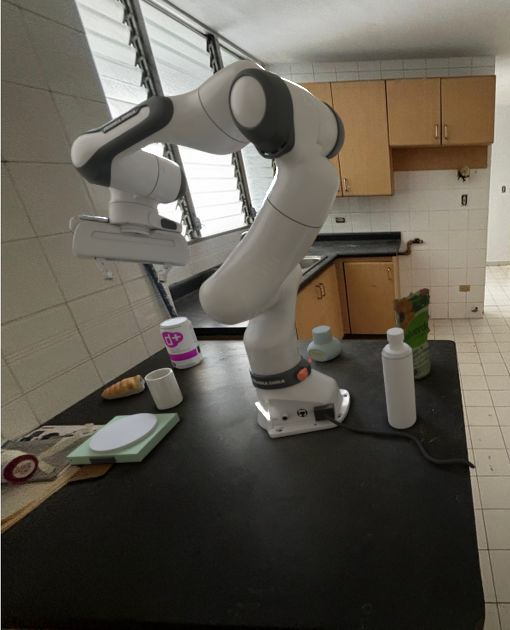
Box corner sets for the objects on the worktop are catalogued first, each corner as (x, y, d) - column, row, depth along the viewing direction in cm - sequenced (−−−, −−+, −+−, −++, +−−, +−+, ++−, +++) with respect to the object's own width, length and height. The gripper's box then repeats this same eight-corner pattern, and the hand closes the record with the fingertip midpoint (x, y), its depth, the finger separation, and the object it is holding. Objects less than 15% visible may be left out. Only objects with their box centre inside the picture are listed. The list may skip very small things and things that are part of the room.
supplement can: (193, 369, 105) (177, 326, 100) (167, 370, 106) (150, 327, 100) (208, 356, 113) (195, 315, 107) (184, 357, 113) (170, 316, 107)
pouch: (432, 359, 105) (429, 283, 95) (435, 381, 94) (432, 297, 84) (396, 361, 104) (390, 285, 95) (395, 383, 93) (388, 300, 84)
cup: (187, 395, 93) (177, 367, 89) (173, 408, 87) (161, 379, 84) (166, 396, 93) (155, 368, 89) (151, 409, 87) (138, 381, 84)
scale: (180, 420, 83) (176, 410, 82) (139, 463, 71) (133, 452, 69) (119, 422, 83) (115, 413, 82) (68, 466, 71) (62, 455, 70)
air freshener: (347, 352, 111) (343, 325, 107) (334, 365, 104) (329, 336, 100) (319, 348, 114) (314, 322, 110) (304, 361, 107) (298, 333, 103)
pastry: (103, 405, 90) (97, 393, 89) (104, 393, 95) (99, 382, 94) (146, 391, 95) (141, 379, 94) (145, 381, 100) (140, 370, 99)
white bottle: (400, 406, 84) (392, 315, 74) (421, 416, 80) (416, 321, 71) (382, 422, 79) (371, 326, 69) (404, 433, 75) (396, 334, 66)
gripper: (68, 207, 67) (69, 275, 66) (189, 225, 82) (192, 281, 81) (69, 217, 72) (70, 281, 71) (184, 233, 86) (186, 286, 85)
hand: (136, 281), depth 76 cm, fingers open, 8 cm apart
